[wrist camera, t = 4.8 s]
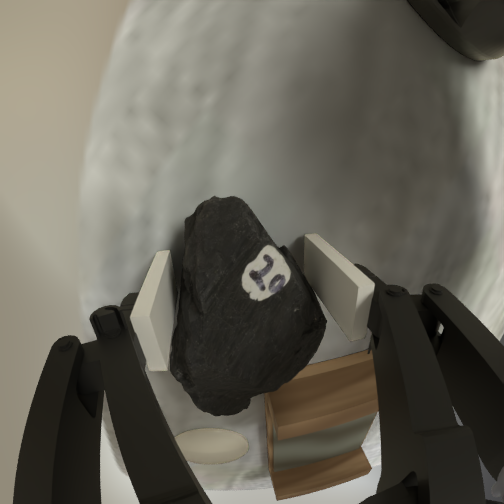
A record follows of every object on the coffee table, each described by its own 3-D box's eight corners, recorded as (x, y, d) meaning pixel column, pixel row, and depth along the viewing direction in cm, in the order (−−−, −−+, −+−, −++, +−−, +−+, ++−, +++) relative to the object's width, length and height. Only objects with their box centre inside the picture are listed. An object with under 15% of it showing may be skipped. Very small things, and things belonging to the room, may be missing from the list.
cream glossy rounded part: (161, 427, 22) (161, 434, 21) (243, 420, 22) (244, 427, 22) (183, 460, 24) (183, 465, 24) (250, 454, 25) (252, 459, 25)
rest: (262, 373, 20) (278, 426, 15) (394, 341, 21) (426, 377, 16) (268, 468, 27) (276, 500, 22) (354, 446, 29) (367, 473, 24)
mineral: (113, 275, 15) (80, 334, 10) (229, 175, 14) (244, 191, 9) (220, 369, 19) (229, 433, 14) (323, 298, 18) (363, 353, 13)
